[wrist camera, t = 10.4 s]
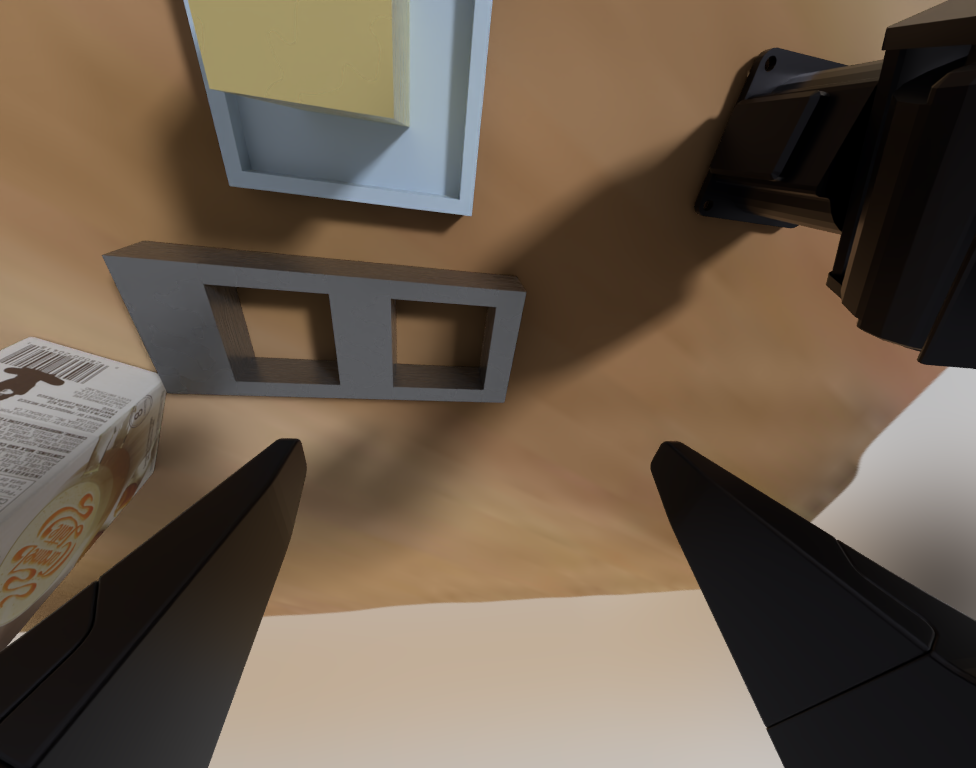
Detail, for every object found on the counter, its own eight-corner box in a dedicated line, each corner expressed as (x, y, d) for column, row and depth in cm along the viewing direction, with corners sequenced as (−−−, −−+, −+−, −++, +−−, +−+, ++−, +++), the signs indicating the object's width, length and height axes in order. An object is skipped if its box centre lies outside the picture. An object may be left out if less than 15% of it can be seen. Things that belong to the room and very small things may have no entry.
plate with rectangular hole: (516, 276, 19) (526, 292, 17) (498, 379, 23) (504, 402, 21) (143, 240, 16) (101, 255, 14) (194, 367, 20) (167, 393, 18)
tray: (499, -117, 12) (506, -146, 10) (468, 210, 17) (471, 216, 16) (155, -220, 10) (116, -270, 9) (245, 182, 15) (229, 185, 14)
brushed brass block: (409, 127, 15) (393, 118, 9) (301, 110, 14) (209, 89, 8) (409, -20, 12) (388, -159, 7) (279, -51, 11) (129, -237, 6)
